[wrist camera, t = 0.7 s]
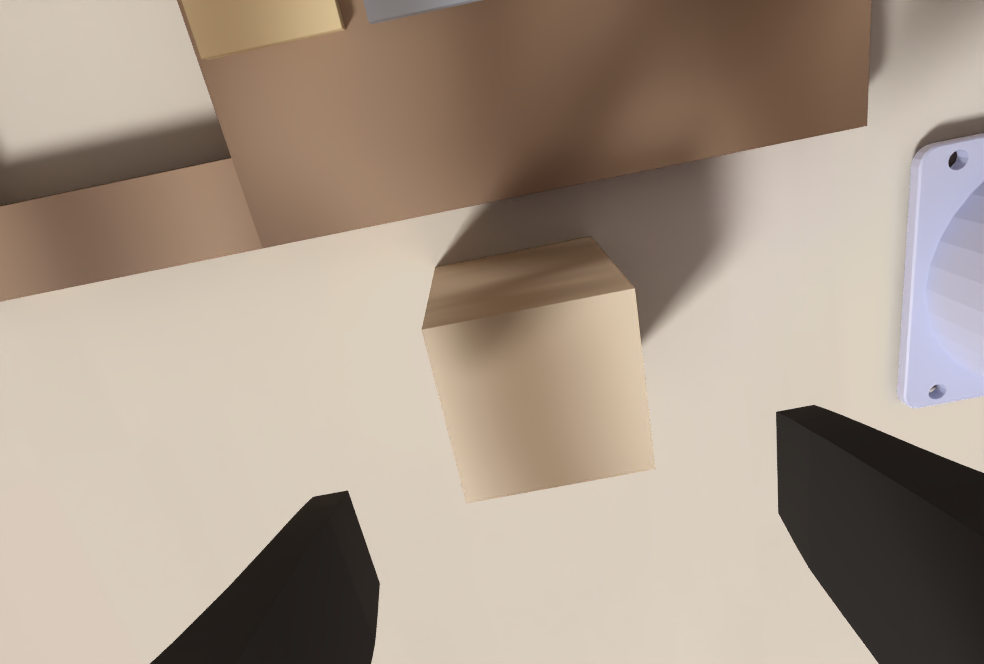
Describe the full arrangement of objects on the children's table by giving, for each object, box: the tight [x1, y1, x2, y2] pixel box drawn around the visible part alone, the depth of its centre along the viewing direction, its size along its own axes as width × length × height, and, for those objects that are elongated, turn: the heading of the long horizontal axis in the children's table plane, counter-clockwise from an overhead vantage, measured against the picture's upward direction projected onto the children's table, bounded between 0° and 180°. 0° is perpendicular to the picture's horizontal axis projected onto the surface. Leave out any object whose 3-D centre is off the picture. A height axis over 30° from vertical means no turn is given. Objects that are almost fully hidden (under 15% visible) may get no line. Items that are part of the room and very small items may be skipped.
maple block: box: [422, 236, 655, 503], centre depth 16 cm, size 4×4×5 cm
